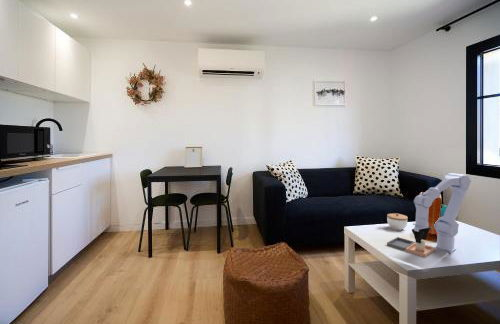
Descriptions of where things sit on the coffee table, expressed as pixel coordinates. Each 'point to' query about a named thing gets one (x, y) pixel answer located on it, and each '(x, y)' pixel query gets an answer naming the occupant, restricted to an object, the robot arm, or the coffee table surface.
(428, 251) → the tray
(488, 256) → the coffee table surface
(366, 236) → the coffee table surface
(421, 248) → the beige rounded cylinder
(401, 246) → the tray
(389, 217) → the lidded bowl
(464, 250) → the coffee table surface
